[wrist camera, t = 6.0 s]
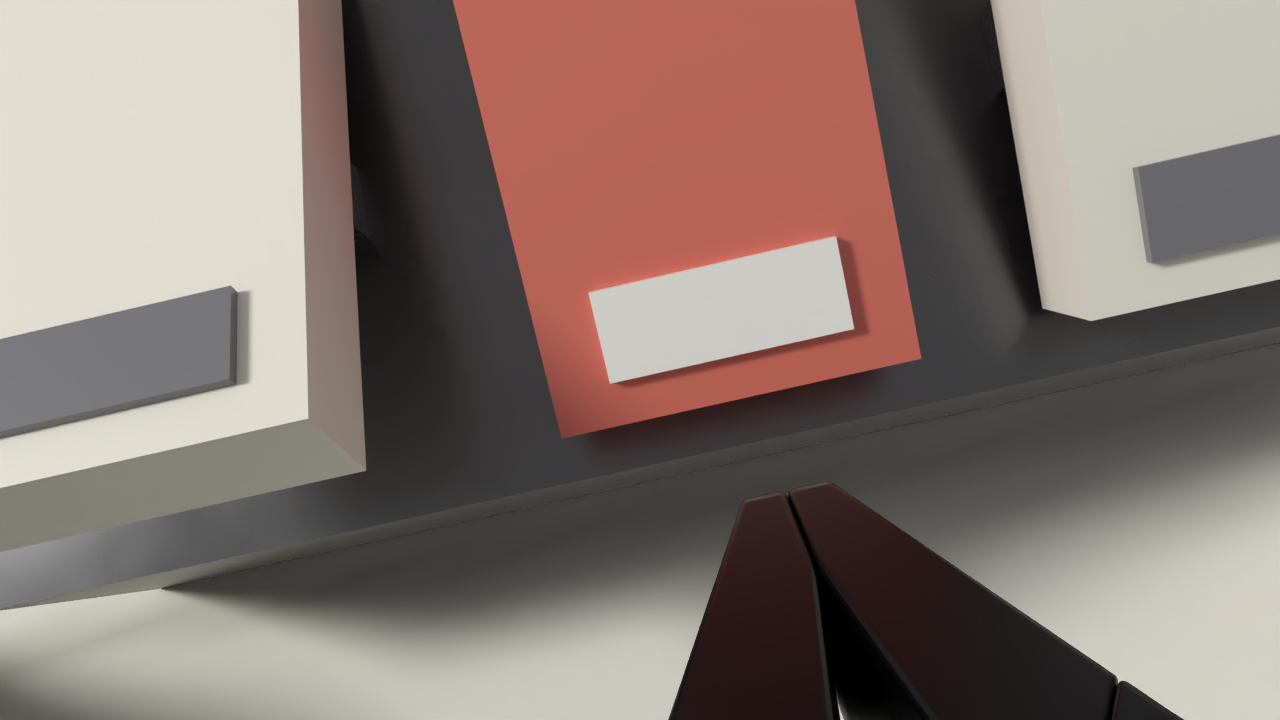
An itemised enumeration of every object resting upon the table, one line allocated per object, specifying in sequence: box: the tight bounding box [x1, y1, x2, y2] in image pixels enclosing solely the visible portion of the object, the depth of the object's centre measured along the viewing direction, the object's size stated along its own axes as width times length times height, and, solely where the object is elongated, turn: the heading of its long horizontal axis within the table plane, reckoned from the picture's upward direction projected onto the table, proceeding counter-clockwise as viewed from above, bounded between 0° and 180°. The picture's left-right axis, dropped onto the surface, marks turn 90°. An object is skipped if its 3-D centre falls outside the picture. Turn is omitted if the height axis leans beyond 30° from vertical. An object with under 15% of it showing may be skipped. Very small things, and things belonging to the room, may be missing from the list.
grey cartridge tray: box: [0, 0, 1280, 610], centre depth 17 cm, size 10×26×6 cm, turn 102°
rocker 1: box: [0, 0, 366, 552], centre depth 13 cm, size 9×5×2 cm, turn 14°
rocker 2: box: [453, 0, 921, 438], centre depth 13 cm, size 9×5×2 cm, turn 11°
